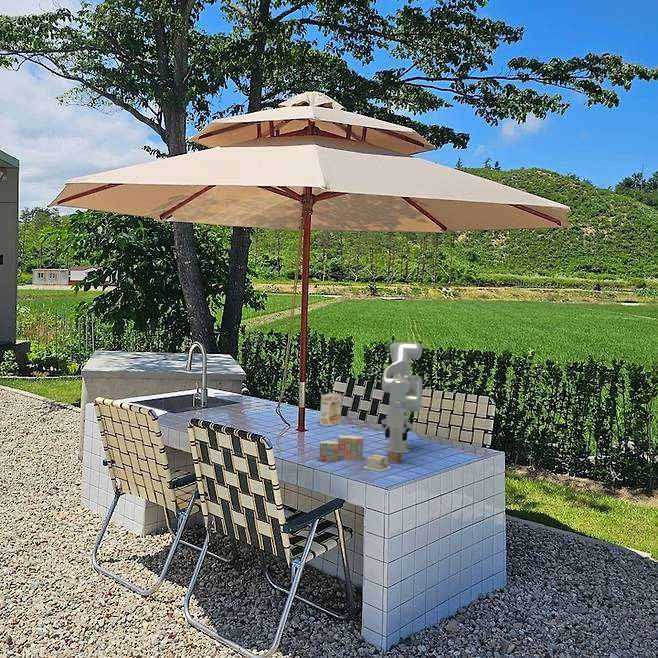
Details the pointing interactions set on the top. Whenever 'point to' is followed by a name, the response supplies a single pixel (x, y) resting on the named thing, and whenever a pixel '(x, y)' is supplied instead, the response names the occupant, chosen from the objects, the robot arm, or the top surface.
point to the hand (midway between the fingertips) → (395, 439)
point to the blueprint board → (376, 469)
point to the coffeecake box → (330, 409)
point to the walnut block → (394, 457)
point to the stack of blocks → (342, 449)
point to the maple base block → (377, 462)
